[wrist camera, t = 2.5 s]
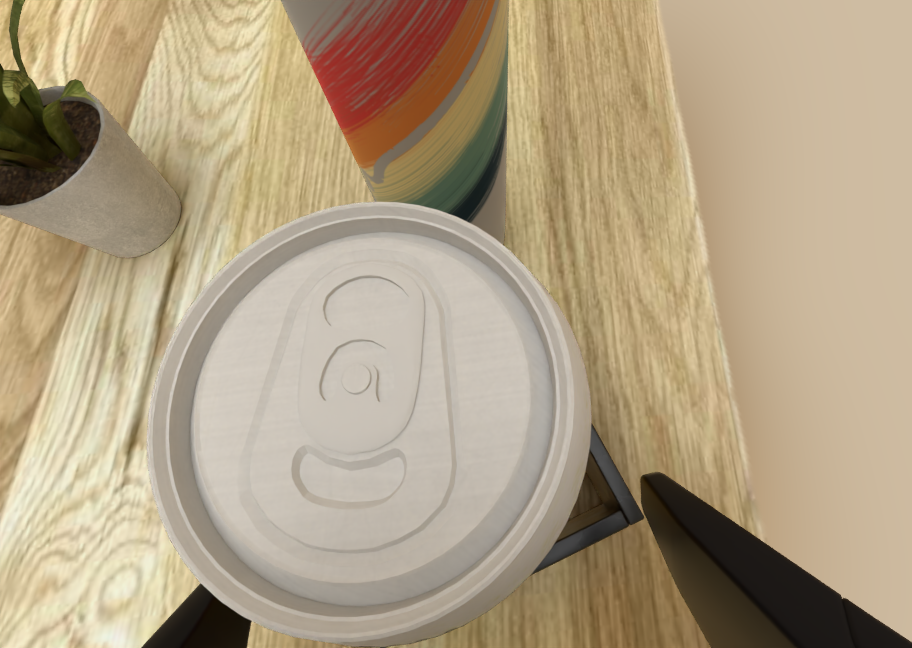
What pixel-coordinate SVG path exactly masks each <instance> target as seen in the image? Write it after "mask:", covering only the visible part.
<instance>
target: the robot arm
mask: <svg viewBox="0 0 912 648" xmlns="http://www.w3.org/2000/svg"><path fill="white" fill-rule="evenodd" d="M640 482H641V504H642V508H643V511H644V514H645V516H646V518H647V520H648V523H649V525H650V527H651V530H652V532H653V534H654V536H655V539H656V541H657V543H658V545H659V548H660V550H661V552H662V555H663V557H664V559H665V561H666V564H667V566H668V568H669V571H670V573H671V575H672V577H673V579H674V581H675V584H676V586H677V588H678V589H679V591H680V593H681V595H682V597H683V599H684V600H685V602H686V604H687V606H688V608H689V609H690V611H691V613H692V615H693V616H694V618H695V620H696V622H697V624H698V625H699V627H700V629H701V631H702V632H703V634H704V636H705V638H706V640H707V641H708V643H709V645H710V647H711V648H912V642H910V641H909V640H907V639H906V638H904V637H903V636H901V635H900V634H898V633H897V632H895V631H894V630H892V629H891V628H889V627H888V626H886V625H885V624H883V623H882V622H880V621H879V620H877V619H875V618H874V617H873V616H871V615H870V614H868V613H867V612H865V611H864V610H862V609H861V608H859V607H858V606H856V605H855V604H853V603H852V602H850V601H849V600H848V599H845V598H843V599H842V597H841V595H840V594H839V593H837V592H836V591H834V590H833V589H831V588H830V587H828V586H826V585H825V584H824V583H822V582H821V581H820V580H818V579H817V578H815V577H814V576H812V575H811V574H809V573H808V572H806V571H805V570H803V569H802V568H801V567H799V566H798V565H796V564H795V563H793V562H792V561H790V560H789V559H787V558H786V557H784V556H783V555H781V554H780V553H778V552H777V551H776V550H774V549H773V548H771V547H770V546H768V545H767V544H765V543H764V542H763V541H761V540H760V539H758V538H757V537H755V536H754V535H752V534H751V533H749V532H748V531H746V530H745V529H744V528H742V527H741V526H739V525H738V524H736V523H735V522H733V521H732V520H730V519H729V518H727V517H726V516H725V515H723V514H722V513H720V512H719V511H717V510H716V509H714V508H713V507H711V506H710V505H708V504H707V503H706V502H704V501H703V500H701V499H700V498H698V497H697V496H695V495H694V494H692V493H691V492H689V491H688V490H686V489H685V488H684V487H682V486H681V485H679V484H678V483H676V482H675V481H673V480H672V479H670V478H669V477H667V476H666V475H665V474H663V473H660V472H655V473H650V474H645V475H642V476H641V480H640ZM250 625H251V620H249V619H247V618H245V617H243V616H241V615H240V614H238V613H237V612H235V611H234V610H232V609H231V608H230V607H228V606H227V605H225V604H224V603H222V602H221V601H220V600H218V599H217V598H216V597H215V596H214V595H213V594H212V593H211V592H210V591H209V590H208V589H207V588H205V587H204V586H203V585H202V584H201V583H200V585H199V586H198V587H197V588H196V589H195V590H194V591H193V592H192V593H191V594H190V595H189V596H188V598H187V599H186V600H185V601H184V602H183V603H182V604H181V605H180V606H179V607H178V608H177V610H176V611H175V612H174V613H173V614H172V615H171V616H170V617H169V618H168V619H167V620H166V621H165V623H164V624H163V625H162V626H161V627H160V628H159V629H158V630H157V631H156V632H155V633H154V634H153V636H152V637H151V638H150V639H149V640H148V641H147V642H146V643H145V644H144V645H143V646H142V647H141V648H247V643H248V637H249V631H250Z"/></svg>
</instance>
